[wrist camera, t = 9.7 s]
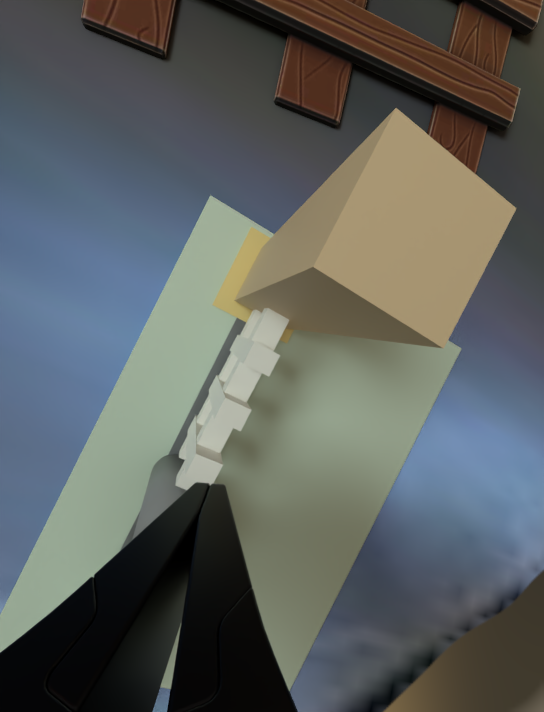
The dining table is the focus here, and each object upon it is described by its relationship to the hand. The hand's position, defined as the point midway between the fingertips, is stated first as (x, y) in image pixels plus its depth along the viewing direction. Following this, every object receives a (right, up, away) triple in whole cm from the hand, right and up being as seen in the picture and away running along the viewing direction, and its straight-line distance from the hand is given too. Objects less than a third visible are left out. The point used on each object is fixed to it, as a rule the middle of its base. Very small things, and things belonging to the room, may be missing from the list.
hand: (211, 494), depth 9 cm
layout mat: (0, -3, +9) cm, 10 cm away
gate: (0, +4, +8) cm, 9 cm away
